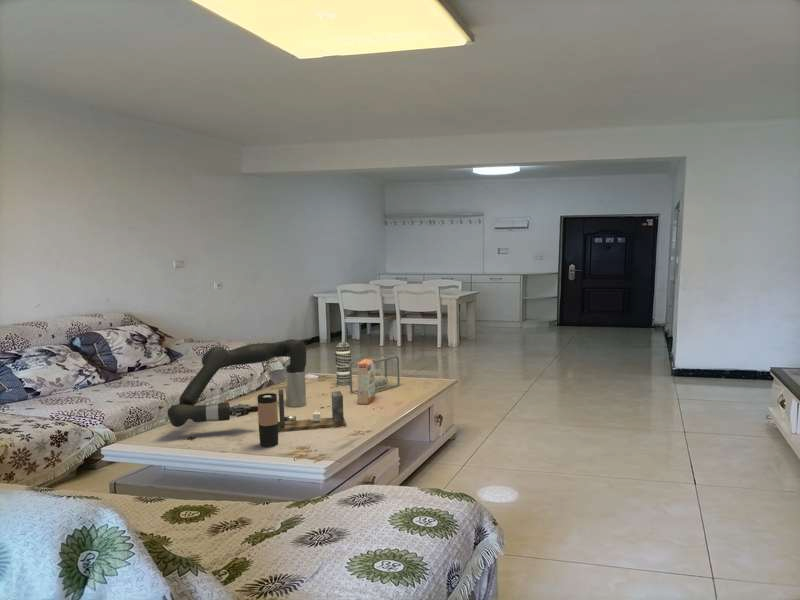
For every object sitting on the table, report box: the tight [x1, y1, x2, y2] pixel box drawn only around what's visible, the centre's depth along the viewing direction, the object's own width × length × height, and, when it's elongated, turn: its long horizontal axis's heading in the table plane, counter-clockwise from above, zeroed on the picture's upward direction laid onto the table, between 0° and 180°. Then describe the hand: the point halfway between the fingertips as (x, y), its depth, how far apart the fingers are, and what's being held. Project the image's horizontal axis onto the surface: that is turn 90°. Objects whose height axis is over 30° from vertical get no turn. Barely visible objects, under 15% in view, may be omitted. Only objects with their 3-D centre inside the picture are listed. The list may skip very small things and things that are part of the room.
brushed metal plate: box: [278, 389, 297, 427], centre depth 265 cm, size 7×9×14 cm
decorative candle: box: [334, 341, 352, 388], centre depth 346 cm, size 9×9×25 cm
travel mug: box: [257, 392, 279, 448], centre depth 242 cm, size 8×8×20 cm
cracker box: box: [356, 358, 376, 405], centre depth 309 cm, size 14×6×21 cm, turn 168°
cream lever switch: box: [312, 409, 321, 421], centre depth 270 cm, size 3×7×3 cm, turn 12°
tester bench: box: [278, 390, 347, 433], centre depth 267 cm, size 32×11×14 cm, turn 102°
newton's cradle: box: [349, 354, 401, 394], centre depth 334 cm, size 30×10×18 cm, turn 141°
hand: (259, 408), depth 262 cm, fingers closed
